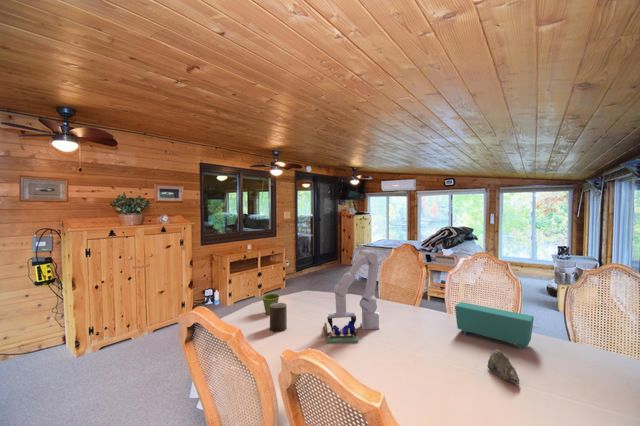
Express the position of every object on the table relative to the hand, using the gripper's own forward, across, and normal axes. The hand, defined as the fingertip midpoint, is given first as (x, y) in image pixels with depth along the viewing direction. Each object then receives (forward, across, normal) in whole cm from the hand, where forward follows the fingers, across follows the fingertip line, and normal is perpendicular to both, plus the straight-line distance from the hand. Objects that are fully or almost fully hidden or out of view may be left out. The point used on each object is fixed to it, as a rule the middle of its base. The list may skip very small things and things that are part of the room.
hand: (342, 330), depth 163 cm
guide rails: (+1, +1, -1) cm, 2 cm away
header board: (+1, +1, +11) cm, 11 cm away
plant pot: (0, +44, -32) cm, 54 cm away
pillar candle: (0, +36, -7) cm, 37 cm away
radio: (+4, -77, +13) cm, 78 cm away
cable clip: (+1, 0, +3) cm, 3 cm away
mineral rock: (+2, -60, +47) cm, 76 cm away
